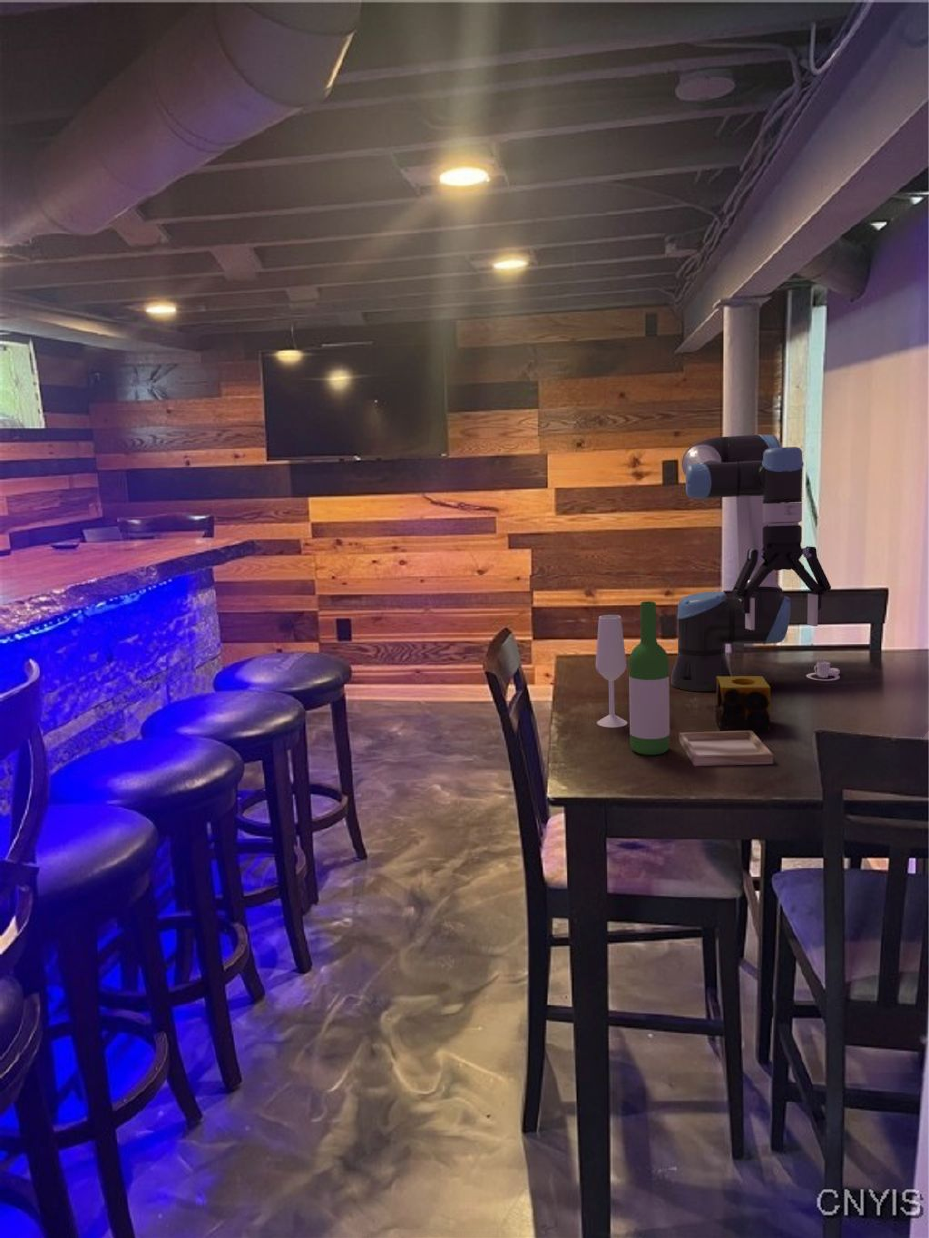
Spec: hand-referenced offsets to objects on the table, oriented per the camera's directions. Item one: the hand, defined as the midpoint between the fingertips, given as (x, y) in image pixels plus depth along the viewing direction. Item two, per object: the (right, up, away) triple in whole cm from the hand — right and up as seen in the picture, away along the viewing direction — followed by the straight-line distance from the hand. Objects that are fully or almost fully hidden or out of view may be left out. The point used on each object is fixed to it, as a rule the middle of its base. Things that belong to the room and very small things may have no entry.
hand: (781, 627), depth 176 cm
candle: (-6, -22, +6) cm, 23 cm away
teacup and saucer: (+29, -14, +40) cm, 51 cm away
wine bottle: (-29, -25, -6) cm, 38 cm away
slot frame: (-15, -24, -9) cm, 30 cm away
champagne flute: (-33, -22, +13) cm, 41 cm away
